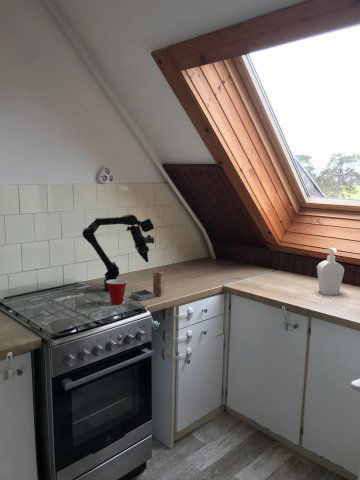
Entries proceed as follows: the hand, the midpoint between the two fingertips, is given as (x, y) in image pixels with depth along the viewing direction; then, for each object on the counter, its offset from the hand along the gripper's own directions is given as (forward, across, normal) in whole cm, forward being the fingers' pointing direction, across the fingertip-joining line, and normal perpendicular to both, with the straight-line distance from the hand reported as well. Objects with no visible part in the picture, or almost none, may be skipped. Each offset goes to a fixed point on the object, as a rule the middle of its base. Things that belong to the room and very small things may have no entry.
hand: (146, 260), depth 242 cm
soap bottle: (+49, -29, -88) cm, 105 cm away
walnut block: (+17, -15, +1) cm, 23 cm away
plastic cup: (+10, -24, +23) cm, 35 cm away
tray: (+14, -17, +10) cm, 24 cm away
